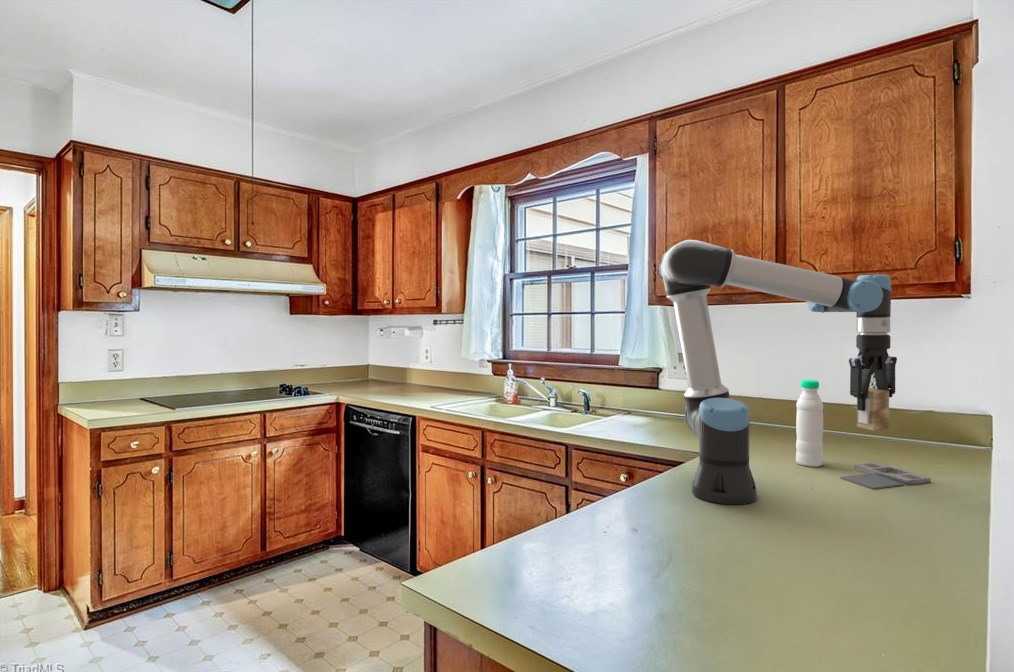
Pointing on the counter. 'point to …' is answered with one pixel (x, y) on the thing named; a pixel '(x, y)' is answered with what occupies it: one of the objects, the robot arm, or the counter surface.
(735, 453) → the robot arm
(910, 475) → the plate with rectangular hole
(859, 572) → the counter surface
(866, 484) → the mat
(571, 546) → the counter surface
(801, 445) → the white bottle
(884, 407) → the peg
